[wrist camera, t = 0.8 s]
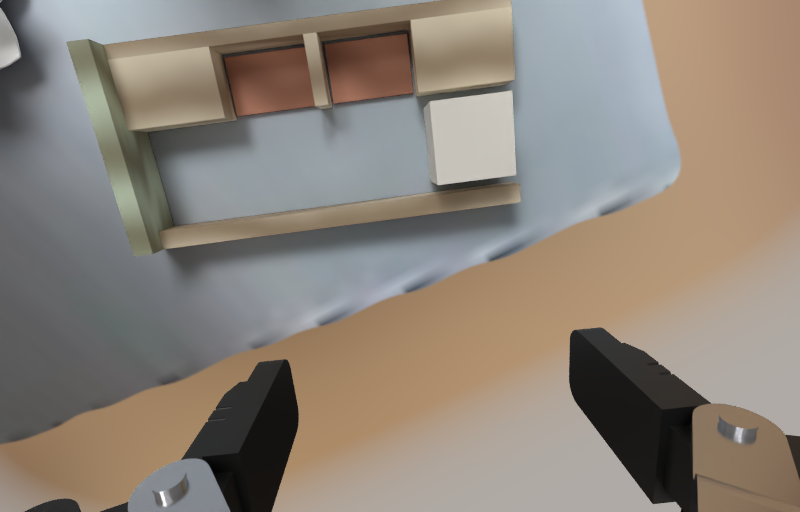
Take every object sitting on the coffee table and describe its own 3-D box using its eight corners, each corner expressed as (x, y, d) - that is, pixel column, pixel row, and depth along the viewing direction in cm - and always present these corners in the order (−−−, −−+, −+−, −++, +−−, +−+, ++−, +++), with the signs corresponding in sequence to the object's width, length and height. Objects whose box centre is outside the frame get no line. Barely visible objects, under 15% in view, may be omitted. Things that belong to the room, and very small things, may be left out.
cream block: (423, 108, 33) (429, 101, 28) (493, 99, 33) (512, 90, 28) (430, 180, 34) (437, 185, 30) (497, 171, 34) (516, 175, 30)
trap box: (106, 55, 31) (66, 41, 27) (501, 3, 31) (517, -18, 27) (162, 244, 35) (134, 256, 31) (511, 198, 35) (526, 204, 31)
